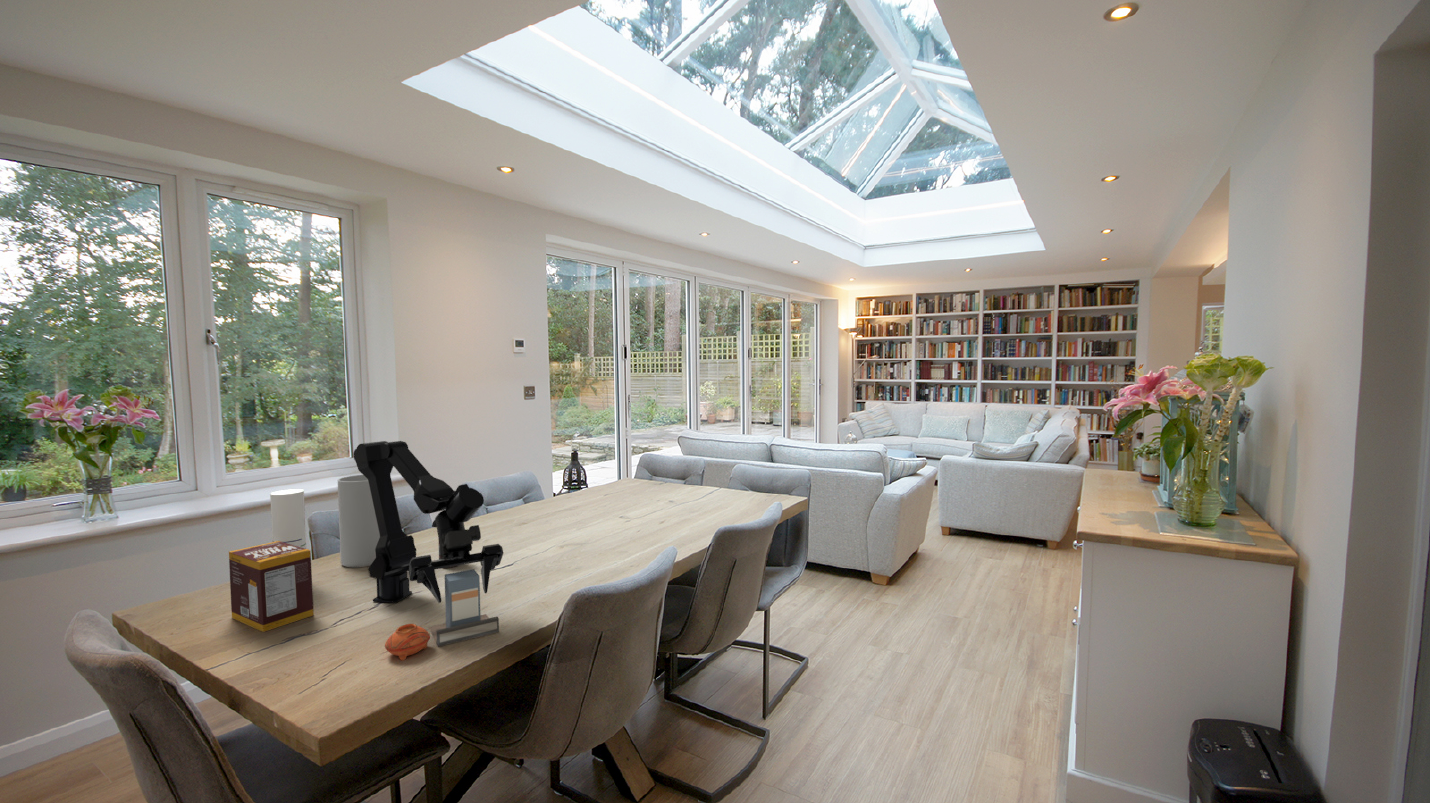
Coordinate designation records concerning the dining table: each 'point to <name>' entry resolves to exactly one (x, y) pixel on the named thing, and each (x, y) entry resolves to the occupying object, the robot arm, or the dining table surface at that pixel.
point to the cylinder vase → (357, 522)
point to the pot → (407, 640)
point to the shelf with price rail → (464, 630)
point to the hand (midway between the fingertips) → (463, 596)
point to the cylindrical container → (288, 517)
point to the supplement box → (271, 585)
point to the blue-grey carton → (462, 598)
